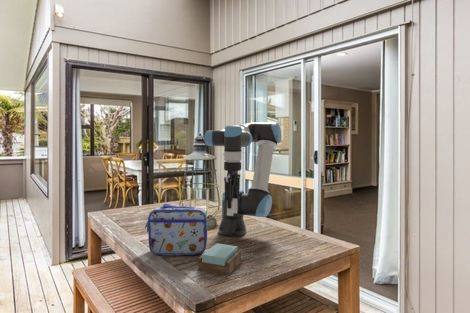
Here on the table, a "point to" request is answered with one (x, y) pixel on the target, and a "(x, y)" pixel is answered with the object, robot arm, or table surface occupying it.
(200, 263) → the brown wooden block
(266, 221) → the table surface
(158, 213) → the lunch box
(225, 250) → the teal rectangular block
